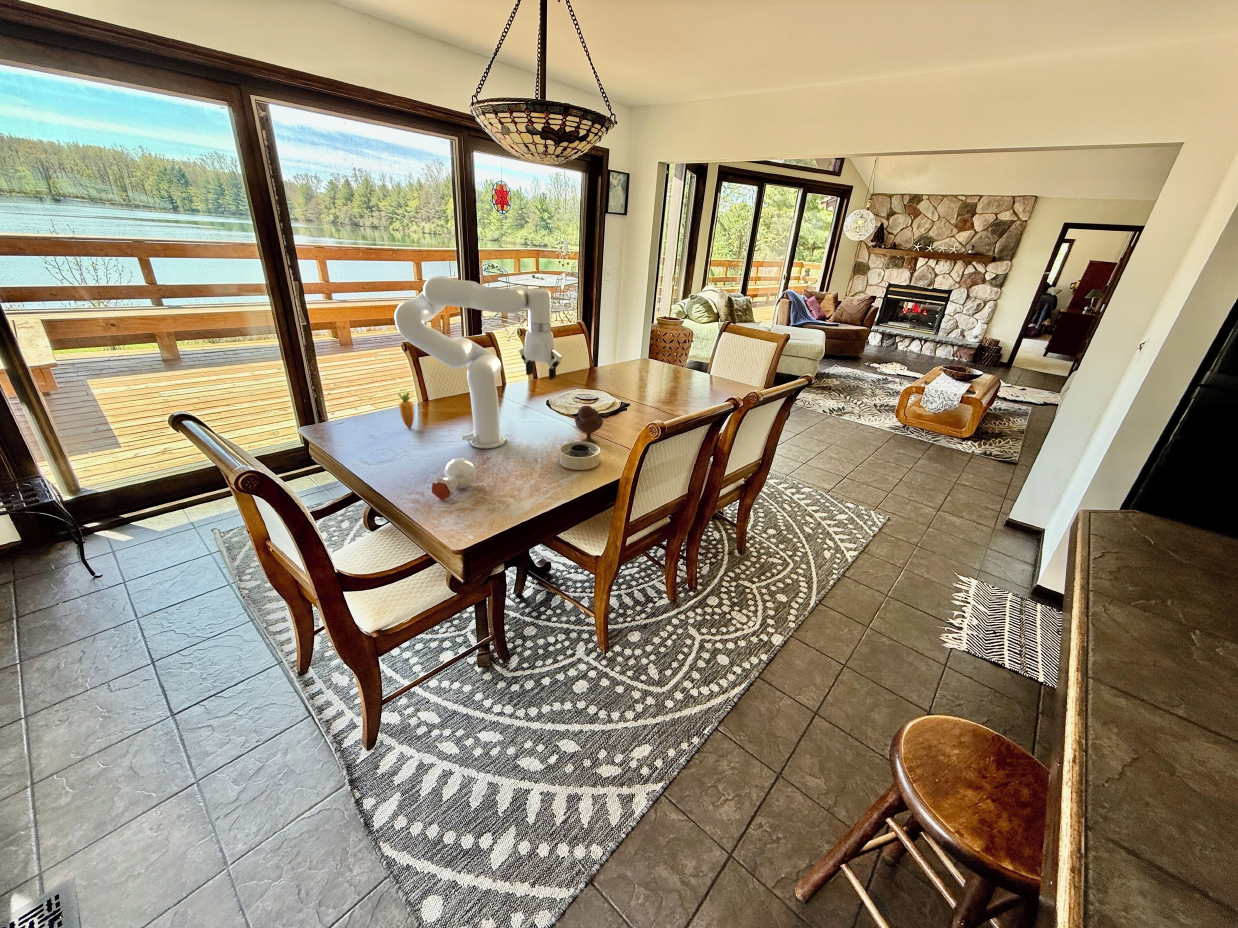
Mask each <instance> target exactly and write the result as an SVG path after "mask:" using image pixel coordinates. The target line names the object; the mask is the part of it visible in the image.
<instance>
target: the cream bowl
mask: <svg viewBox="0 0 1238 928" xmlns="http://www.w3.org/2000/svg"><path fill="white" fill-rule="evenodd" d="M576 444H583V445H587V446H589V447H590V456H588V457H572V456H570V447H571V446H573V445H576ZM600 462H601V448H600V447H599V446H598V445H597V444H596V443H595V444H593V443H589V442H582V440H581V441H580V440H579V441H578V440H577V441H570V442H569V441H568V442H566V443H563V444H562V445H560V446H559V448H558V463H559V464H560V465H561V466H562V467H564V468H566V469H569V470H574V471H576V470H577V471H584V470H590V469H593V468H596V467H597V466H599V465H600Z"/></svg>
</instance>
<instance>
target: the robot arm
mask: <svg viewBox="0 0 1238 928" xmlns="http://www.w3.org/2000/svg"><path fill="white" fill-rule="evenodd" d="M446 307H457V308H458V307H459V308H466V309H467V308H468V309H474V310H477V311H484V312H490V313H497V314H498V313H500V314H507V315H508V314H510V315H511V314H514V315H515V314H517V313H520V312H522V311H523V310H527V320H528V321H527V322H526V323H525V326H526V327H528V328H527V329H528V330H526V332H525V336H524V337H525V338H524V347H522V348H520V349H519V350H518V352H519V354H520V356H521V359H522V360H523V363H524V365H525V374H526V376H530V375H533V374H534V363H533V362H538V363H544V364H547V365H548V366H549V368H548V379H549V380H550V381H551V380H554V379H556V377H557V368H558V366H559V365H560V364H561V361H562V360H563V356H562V355H561V354H560V353H559V352H557V351H556V348H555V347H556V346H555V338H554V334H553V332H552V321H551V319H552V318H551V317H552V316H551V315H552V311H551V308H552V307H551V292H550V291H549V290H548V289H546V288H528V287H523V286H512V287H510V288H498V287H489V286H485V285H482V284H480V283H478V282H477V281H473V280H464V279H452V278H450V277H448V276H446V275H438V276H434V277H431V278H429V279H427V280H426V281H425V282H424V284H423V289H422V291H421V292H420V293H419V294H418V295H417V296H416V297H413V298H411V299H407V300H404V301H403V302H401V303H400V304H399V305H398V306H397V307H396V309H395V312H394V321H395V326H396V329H397V331H398V332H399V334H400V335H401V336H402V337H403V338H404V340H406V341H407V342H408V343H410V344H411V345H413V346H414V347H416V348H417V349H420V350H421V351H423V352H425V353H426V354H428V355H429V356H430V357H433V358H435V359H436V360H438V361H439V362H441V363H442V364H444V365H446V366H447V367H449V368H451V369H455V370H458V369H461V368H463V367H467V370H466V379H467V384H468V388H469V395H470V404H471V415H472V429H473V430H472V429H471V432H469V433H468V434H460V439H461V441H466V442H469V443H470V445H471V446H473V447H474V448H478V449H494V448H498V447H500V446H502V445H504V444H505V442H506V439H505V436H503V435H502V434H501V424H500V423H501V422H500V412H499V411H500V409H499V394H498V388H497V381H496V380H497V378H498V376H499V375H500V373H501V371H502V363H501V361H500V359H499V357H497V356H496V355H495V354H493V353H492V352H491V351H489V350H488V349H486V348H484V347H483V346H482V345H479V344H478V343H476V342H474V341H473V340H471V339H469V338H467V337H463V336H458V337H453V338H450V337H449V336H447V335H445V334H444V333H442V332H441V331H440V330H437V329H435V328H433V327H431V326H428V325H427V323H428V322H430V321H431V320H432V319H434V318H435V317H436V316H438V314H439V313H440V312H442V311H443V310H444V309H445V308H446ZM555 359H556V360H555Z"/></svg>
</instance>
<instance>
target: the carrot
mask: <svg viewBox="0 0 1238 928" xmlns="http://www.w3.org/2000/svg"><path fill="white" fill-rule="evenodd" d="M397 395H398V396H399V398H400V399H401V400H402V401H400V402H399V403H398V407H399V408H398V409H399V412H400V417H401V419H402V421H403V423H404V425H405V426H406V428H407V429H409V430H411V429H412V428H413V425H414V421H415V420H414V419H415V411H414V409H415V408H414V403H413V402H412V401H411V400H410V399H411V397H410V392H408V391H407V392H404V393H403V395H402V393H398V394H397Z"/></svg>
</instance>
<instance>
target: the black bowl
mask: <svg viewBox="0 0 1238 928" xmlns="http://www.w3.org/2000/svg"><path fill="white" fill-rule="evenodd" d="M570 456H572V457H588V456H590V447H589V446H587V445H583V444H576V445H573V446H571V447H570Z"/></svg>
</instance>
